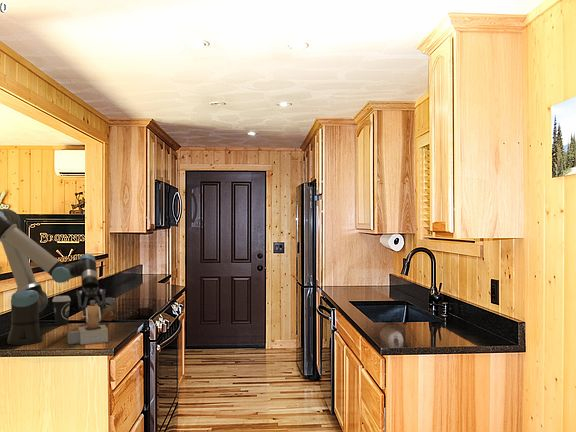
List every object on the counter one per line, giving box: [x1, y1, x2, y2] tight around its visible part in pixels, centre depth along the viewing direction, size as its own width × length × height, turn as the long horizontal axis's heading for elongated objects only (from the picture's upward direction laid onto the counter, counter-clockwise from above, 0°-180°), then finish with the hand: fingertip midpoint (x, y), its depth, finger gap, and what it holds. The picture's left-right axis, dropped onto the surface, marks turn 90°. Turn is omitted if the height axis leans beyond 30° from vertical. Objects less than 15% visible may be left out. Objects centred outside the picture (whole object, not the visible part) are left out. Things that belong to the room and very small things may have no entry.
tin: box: [98, 305, 118, 322], centre depth 315 cm, size 15×3×8 cm, turn 55°
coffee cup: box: [51, 295, 72, 326], centre depth 305 cm, size 10×10×15 cm
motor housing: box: [67, 324, 109, 346], centre depth 261 cm, size 12×17×6 cm
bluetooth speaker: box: [100, 296, 117, 309], centre depth 330 cm, size 23×9×10 cm, turn 12°
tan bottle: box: [86, 299, 100, 328], centre depth 262 cm, size 5×5×12 cm
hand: (93, 320), depth 258 cm, fingers closed on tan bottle, 5 cm apart
